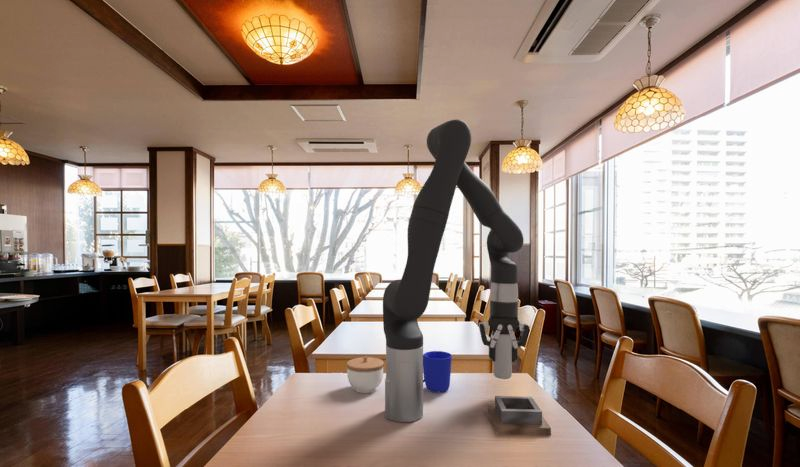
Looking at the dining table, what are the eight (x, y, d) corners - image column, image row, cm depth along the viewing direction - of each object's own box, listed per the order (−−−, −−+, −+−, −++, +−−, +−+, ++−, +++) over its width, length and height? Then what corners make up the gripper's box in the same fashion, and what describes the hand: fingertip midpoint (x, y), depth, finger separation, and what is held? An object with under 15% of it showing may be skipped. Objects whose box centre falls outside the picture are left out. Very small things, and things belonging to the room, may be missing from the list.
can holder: (496, 433, 94) (496, 413, 94) (487, 411, 106) (487, 393, 106) (550, 435, 94) (550, 414, 94) (536, 412, 106) (536, 394, 106)
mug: (411, 383, 127) (411, 349, 127) (452, 385, 125) (452, 351, 125) (408, 393, 119) (408, 357, 119) (451, 395, 117) (451, 359, 117)
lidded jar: (382, 396, 117) (382, 362, 117) (344, 396, 117) (344, 362, 117) (384, 382, 127) (384, 351, 127) (349, 382, 127) (349, 351, 127)
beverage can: (513, 379, 114) (514, 335, 114) (495, 379, 114) (496, 334, 114) (509, 374, 118) (509, 331, 119) (492, 373, 119) (492, 330, 119)
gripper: (479, 300, 113) (478, 364, 113) (533, 301, 112) (532, 365, 112) (476, 296, 120) (474, 356, 120) (526, 297, 120) (525, 358, 120)
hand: (502, 360), depth 116 cm, fingers closed on beverage can, 5 cm apart
